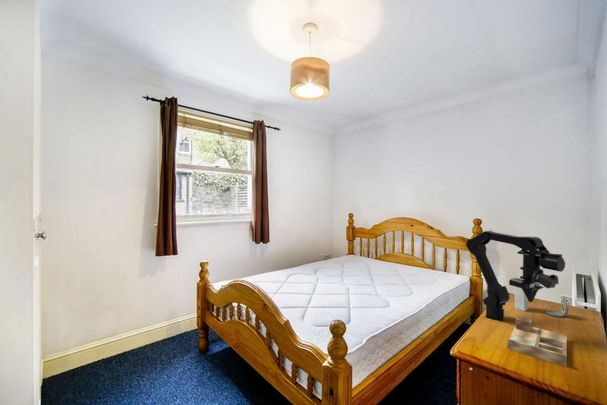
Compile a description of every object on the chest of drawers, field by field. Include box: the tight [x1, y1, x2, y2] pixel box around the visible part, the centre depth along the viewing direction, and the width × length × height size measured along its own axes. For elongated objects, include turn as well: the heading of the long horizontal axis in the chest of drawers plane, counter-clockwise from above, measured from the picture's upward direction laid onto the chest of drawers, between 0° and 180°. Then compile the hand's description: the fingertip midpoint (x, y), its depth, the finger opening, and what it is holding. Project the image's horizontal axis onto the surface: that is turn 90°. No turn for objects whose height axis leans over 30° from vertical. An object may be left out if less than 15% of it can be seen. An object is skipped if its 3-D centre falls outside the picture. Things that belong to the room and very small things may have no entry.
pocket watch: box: [545, 295, 569, 318], centre depth 133 cm, size 8×8×10 cm
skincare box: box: [514, 286, 530, 312], centre depth 141 cm, size 6×4×12 cm
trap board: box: [507, 324, 568, 368], centre depth 104 cm, size 16×25×4 cm, turn 135°
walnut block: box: [515, 315, 533, 333], centre depth 113 cm, size 5×5×4 cm
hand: (530, 301), depth 116 cm, fingers closed
